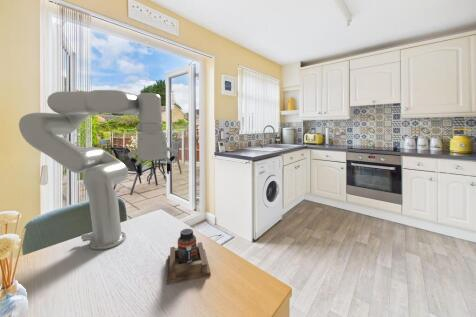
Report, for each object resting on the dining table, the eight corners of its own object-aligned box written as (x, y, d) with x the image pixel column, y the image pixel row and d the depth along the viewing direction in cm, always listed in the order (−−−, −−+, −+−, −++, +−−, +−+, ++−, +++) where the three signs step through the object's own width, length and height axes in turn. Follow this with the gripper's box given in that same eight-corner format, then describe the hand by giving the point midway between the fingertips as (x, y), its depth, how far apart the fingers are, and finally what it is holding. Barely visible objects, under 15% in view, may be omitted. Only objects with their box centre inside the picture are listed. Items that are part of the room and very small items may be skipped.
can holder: (166, 284, 62) (166, 272, 61) (168, 258, 74) (167, 247, 73) (210, 275, 65) (210, 263, 65) (204, 251, 78) (204, 241, 77)
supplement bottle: (194, 269, 67) (193, 236, 65) (176, 269, 67) (174, 236, 65) (198, 257, 72) (197, 227, 71) (181, 257, 73) (180, 226, 71)
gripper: (122, 128, 70) (127, 178, 73) (176, 128, 75) (178, 174, 78) (127, 128, 78) (131, 173, 80) (176, 128, 82) (178, 170, 85)
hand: (154, 174), depth 79 cm, fingers open, 9 cm apart
